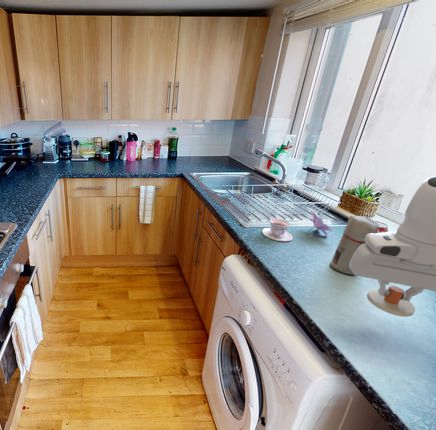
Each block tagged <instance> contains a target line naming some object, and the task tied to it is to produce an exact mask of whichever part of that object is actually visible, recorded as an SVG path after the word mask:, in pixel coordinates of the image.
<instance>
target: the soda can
mask: <svg viewBox="0 0 436 430" xmlns="http://www.w3.org/2000/svg"><path fill="white" fill-rule="evenodd" d="M374 221H375V222H376V224H377V225H378V229H377V230H376V232H375V233H385V232H389V229H388V227H389V226H388V224H386V223H384V222H382V221H378V220H374Z"/></svg>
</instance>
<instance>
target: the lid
mask: <svg viewBox="0 0 436 430" xmlns="http://www.w3.org/2000/svg"><path fill="white" fill-rule="evenodd" d="M388 289H389V290H390V294H389V296H388V297H385V296H380V295H379V293H378V290H379V288H378V289H377V288H376V289H375V288H374V289H371V290H369V291H368V292H367V294H366V298H367V301H369V303H370V304H372V305H373V306H374V307H376V308H377V309H379V310H381V311H382V312H385V313H387V314H390V315H393V316H397V317H407V318H408V317H411V316H413V315H414V314H415V312H416V307H415V306H414V304H413V303H412V302H411V301H404V300H400V299H401V297H402V295H403V293H404V291H405V290H404V289H403V288H400V287H398V286H396V285H390V286H389V287H388Z"/></svg>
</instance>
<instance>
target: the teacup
mask: <svg viewBox="0 0 436 430" xmlns="http://www.w3.org/2000/svg"><path fill="white" fill-rule="evenodd" d="M269 224H270V227H265V228H263V229H262V231H261V233H262V234H263V236H264V237H266V238H267V239H270V240H273V241H276V242H291V241H293V238H294V236H293V235H292V234H291V233H290V232H288V231H287V230H288V228H290V227H291V223H290V222H289V221H287V220H286V219H282V218H278V217H277V218H276V217H273V218H270V220H269Z"/></svg>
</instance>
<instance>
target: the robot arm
mask: <svg viewBox="0 0 436 430" xmlns="http://www.w3.org/2000/svg"><path fill="white" fill-rule="evenodd" d="M403 219H404V220H403V221H402V223H401V224H399V226H398V227H397V229H396V230H395V231H388V232H385V233H371V234H367V235H366V236H365V242H366V243H365V244H362V245H360V246H359V247H358V248H357V250H356V251H355V253H354V254H353V256H352V258H351V260H350V263H349V267H350V269H351V271H352V272H353V274H354V275H353V276H357V277H362V278H367V279H371V280H377V283H378V285H379V288H378V289H379V290H378V293H379V295H380V296H385V297H388V296H389V294H390V290H389V287H387V286H388V285H389V284H390V283H391V284H392V283H393V284H397V285H401V286H407V287H409V288H407V289H406V290H404V293H403V295H402V297H401V299H400V300H404V301H409V302H411V299H412V298H413V297H415V296H417V295H419V294H421V293H422V292H424V290H428V291H433V292H436V175H434V176H433V175H432V176H430V177H428V178H426V179H425V180H424V181H423V182H422V183H421V184H420V186H419V187H418V189H416V191H415V193H414V194H413V196H412V198H411V199H410V201H409V203H408V205H407V207H406V209H405V212H404V218H403Z"/></svg>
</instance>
